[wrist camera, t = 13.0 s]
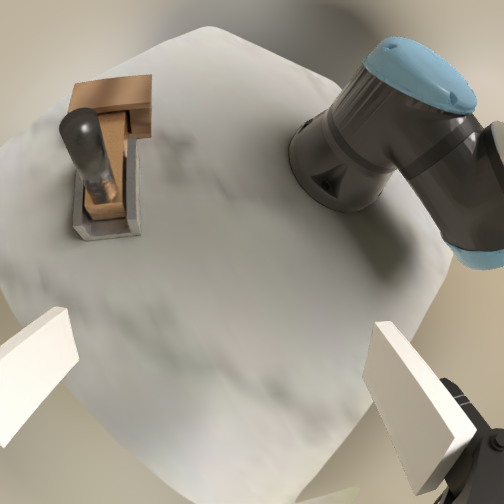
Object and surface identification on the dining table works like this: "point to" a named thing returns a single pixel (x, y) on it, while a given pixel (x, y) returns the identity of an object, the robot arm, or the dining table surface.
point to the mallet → (99, 158)
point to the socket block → (118, 100)
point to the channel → (114, 225)
